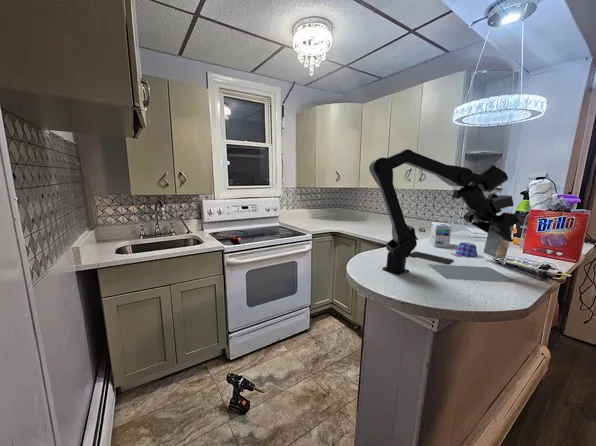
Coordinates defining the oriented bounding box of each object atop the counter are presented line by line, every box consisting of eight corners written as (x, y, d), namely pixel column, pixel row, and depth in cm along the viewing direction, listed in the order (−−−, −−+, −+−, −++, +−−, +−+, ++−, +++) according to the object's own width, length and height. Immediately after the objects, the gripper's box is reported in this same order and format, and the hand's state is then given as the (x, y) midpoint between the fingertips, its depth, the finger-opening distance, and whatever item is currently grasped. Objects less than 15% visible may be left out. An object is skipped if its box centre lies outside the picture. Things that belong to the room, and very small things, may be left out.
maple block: (494, 257, 80) (504, 221, 78) (482, 252, 86) (491, 218, 84) (505, 259, 80) (514, 222, 78) (492, 253, 86) (501, 219, 84)
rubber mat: (446, 279, 80) (446, 278, 80) (427, 265, 93) (427, 264, 93) (519, 283, 78) (519, 282, 78) (488, 268, 92) (489, 267, 92)
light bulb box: (449, 248, 119) (452, 226, 117) (433, 247, 121) (436, 225, 119) (443, 243, 129) (445, 222, 127) (428, 242, 131) (431, 221, 129)
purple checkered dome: (485, 256, 108) (487, 244, 107) (478, 261, 100) (480, 249, 99) (454, 250, 117) (456, 239, 116) (446, 254, 109) (447, 243, 108)
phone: (415, 251, 109) (454, 259, 99) (415, 253, 110) (453, 262, 99) (407, 254, 104) (448, 263, 93) (407, 257, 104) (447, 266, 93)
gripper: (522, 186, 70) (552, 229, 71) (480, 184, 89) (504, 219, 90) (486, 210, 72) (516, 251, 73) (452, 204, 90) (476, 237, 92)
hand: (502, 238), depth 82 cm, fingers closed on maple block, 6 cm apart
